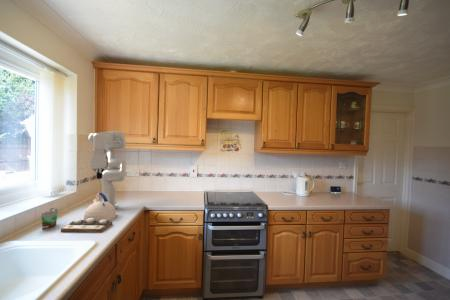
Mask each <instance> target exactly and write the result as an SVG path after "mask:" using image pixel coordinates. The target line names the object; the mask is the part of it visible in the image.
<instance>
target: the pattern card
mask: <svg viewBox="0 0 450 300" xmlns="http://www.w3.org/2000/svg"><path fill="white" fill-rule="evenodd" d="M65 226H66V227H65ZM65 226H63V227H64V228H63V227H61V228H62V229H101V228H102V227H104V226H103V225H69V224H67V225H65Z"/></svg>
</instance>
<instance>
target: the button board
mask: <svg viewBox="0 0 450 300" xmlns="http://www.w3.org/2000/svg"><path fill="white" fill-rule="evenodd" d="M68 225H103V226H104V227H102V228H101V229H62V228H64V227H66V226H67V225H64V226H63V227H61V228H60V233H103V232H104V231H105V230H107V229H108V228H110V227H111V226H112V225H113V221H111V220H107V222H106V223H105V224H99V221H97V220H94V221H93V222H89V223H88V222H87V221H85V220H84V219H81V222H80V223H74V220H73V221H70V222H69V223H68Z"/></svg>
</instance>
